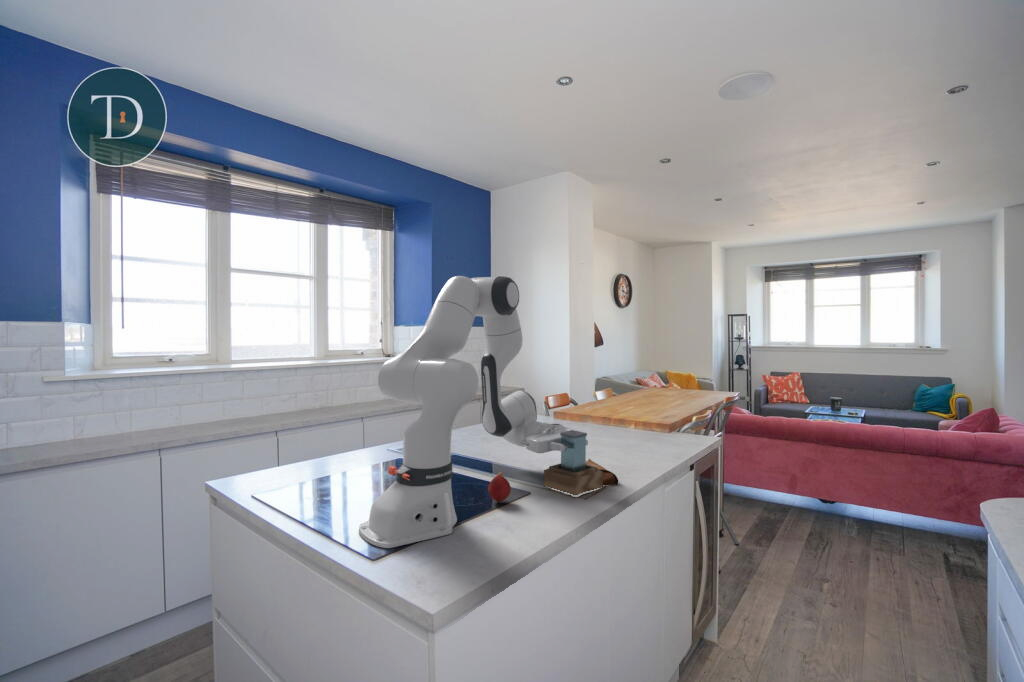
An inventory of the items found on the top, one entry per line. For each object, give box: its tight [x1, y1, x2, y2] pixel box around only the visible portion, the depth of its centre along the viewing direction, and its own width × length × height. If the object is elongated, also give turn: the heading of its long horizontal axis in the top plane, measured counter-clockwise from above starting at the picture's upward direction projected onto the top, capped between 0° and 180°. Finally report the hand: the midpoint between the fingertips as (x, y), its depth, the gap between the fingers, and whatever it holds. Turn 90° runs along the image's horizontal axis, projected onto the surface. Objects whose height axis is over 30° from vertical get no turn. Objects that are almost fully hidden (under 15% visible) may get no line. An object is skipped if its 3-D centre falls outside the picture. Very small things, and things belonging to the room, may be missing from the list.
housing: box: [560, 430, 588, 473], centre depth 137 cm, size 5×5×11 cm
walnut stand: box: [543, 462, 604, 495], centre depth 137 cm, size 12×12×6 cm
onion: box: [487, 472, 512, 503], centre depth 125 cm, size 6×6×8 cm
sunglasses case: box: [585, 458, 619, 486], centre depth 148 cm, size 18×7×7 cm
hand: (576, 445), depth 136 cm, fingers open, 8 cm apart
